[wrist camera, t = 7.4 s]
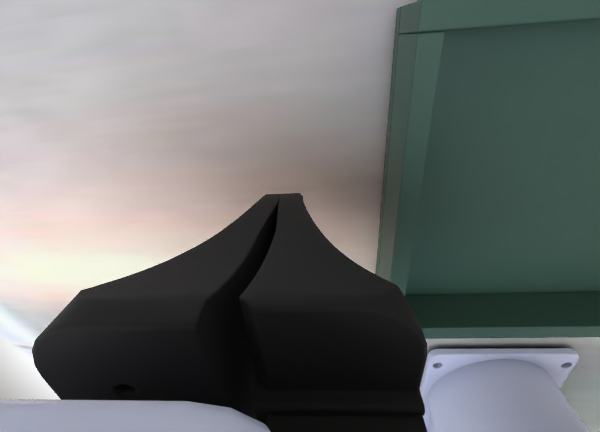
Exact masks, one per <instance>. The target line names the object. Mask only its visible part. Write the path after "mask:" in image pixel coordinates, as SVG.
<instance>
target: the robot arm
mask: <svg viewBox="0 0 600 432" xmlns="http://www.w3.org/2000/svg"><path fill="white" fill-rule="evenodd" d="M32 353H33V358H34V363H35V366H36V368H37V370H38V371H39V373H40V374H41V376H42V377H43V379H44V380H45V381H46V382H47V383H48V385H49V386H50V387H51V388H52V389H53V390H54V392H55V393H56V394H57V395H58V396H59V398H60V399H61V400H33V399H32V400H31V399H27V400H26V399H0V432H590V431H589V430H588V429H587V427H586V426H585V424H584V423H583V421H582V420H581V419H580V417H579V416H578V414H577V413H576V411H575V410H574V409H573V407H572V406H571V404H570V403H569V402H568V400H567V399H566V397H565V396H564V394H563V393H562V392H561V390H560V387H561V386H562V384H563V383H564V381H565V380H566V378H567V377H568V375H569V374H570V372H571V371H572V369H573V368H574V366H575V364H576V363H577V361H578V360H579V355H578V354H577V352H576V351H575V350H573V349H570V348H500V349H434V350H431V351H430V352H429V354H428V356H427V343H426V340H425V337H424V333H423V331H422V328H421V326H420V324H419V321H418V319H417V317H416V315H415V314H414V312H413V310H412V308H411V306H410V304H409V303H408V301H407V299H406V298H405V296H404V294H403V293H402V291H401V289H400V288H399V286H397V285H396V284H394V283H392V282H390V281H388V280H385V279H383V278H381V277H379V276H377V275H375V274H373V273H371V272H369V271H368V270H366V269H364V268H363V267H361V266H359V265H358V264H356V263H355V262H353V261H352V260H350V259H349V258H348V257H346V256H345V255H344V254H342V253H341V252H340V251H339V250H338V249H337V248H335V247H334V246H333V245H332V244H331V243H330V242H329V241H328V239H327V238H326V237H325V236H324V235H323V234H322V233H321V231H320V230H319V229H318V227H317V226H316V225H315V223H314V221H313V220H312V218H311V217H310V215H309V213H308V211H307V209H306V207H305V205H304V202H303V196H302V195H301V194H300V193H293V194H266V195H265V196H263V197H262V198H261V199H260V200H259V201H258V202H256V203H255V204H254V205H253V206H252V207H251V208H250V209H249V210H247V211H246V212H245V213H244V214H243V215H242V216H240V217H239V218H238V219H237V220H235V221H234V222H233V223H231V224H230V225H229V226H227V227H226V228H225V229H223V230H222V231H221V232H219V233H218V234H216V235H215V236H213V237H212V238H210V239H208V240H207V241H205V242H203V243H202V244H200V245H198V246H196V247H194V248H192V249H190V250H188V251H186V252H184V253H182V254H180V255H178V256H176V257H174V258H172V259H170V260H168V261H166V262H163V263H161V264H158V265H156V266H154V267H151V268H149V269H146V270H143V271H141V272H138V273H135V274H132V275H130V276H127V277H124V278H121V279H117V280H114V281H111V282H108V283H104V284H101V285H98V286H95V287H92V288H88V289H84V290H81V291H80V292H79V293H78V294H77V295H76V297H75V298H74V299H73V300H72V301H71V302H70V303H69V304H68V305H67V306H66V307H65V308H64V310H63V311H62V312H61V313H60V314H59V315H58V316H57V317H56V318H55V319H54V320H53V321H52V322H51V324H50V325H49V326H48V327H47V328H46V329H45V330H44V331H43V332H42V333H41V334H40V335H39V336H38V338H37V339H36V340H35V343H34V346H33V349H32ZM426 358H427V361H426ZM425 362H426V365H425ZM424 366H425V369H424ZM423 371H424V373H423ZM422 375H423V377H422ZM421 379H422V381H421ZM420 383H421V386H420ZM419 387H420V389H419Z"/></svg>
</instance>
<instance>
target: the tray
mask: <svg viewBox="0 0 600 432" xmlns="http://www.w3.org/2000/svg"><path fill="white" fill-rule="evenodd" d="M376 275H377V276H379V277H381V278H383V279H385V280H388V281H390V282H392V283H394V284H396V285H397V286H399V288H400V289H401V291H402V293H403V294H404V296H405V298H406V299H407V301H408V303H409V304H410V306H411V308H412V310H413V312H414V314H415V315H416V317H417V319H418V321H419V324H420V326H421V328H422V331H423V333H424V337H425V339H434V338H544V337H600V0H418V1H416V2H413V3H410V4H408V5H405V6H402V7H400V8H398V9H397V17H396V29H395V42H394V54H393V67H392V79H391V92H390V104H389V117H388V129H387V141H386V154H385V166H384V179H383V191H382V204H381V216H380V229H379V241H378V254H377V266H376Z"/></svg>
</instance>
